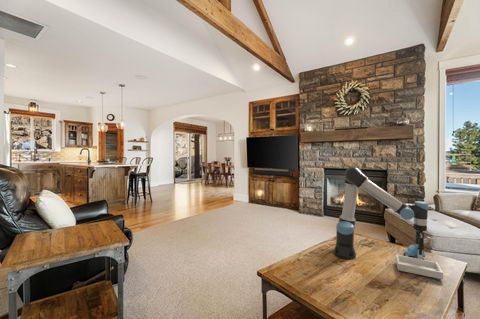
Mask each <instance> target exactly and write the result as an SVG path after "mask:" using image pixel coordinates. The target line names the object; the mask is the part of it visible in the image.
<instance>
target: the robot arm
mask: <svg viewBox="0 0 480 319" xmlns="http://www.w3.org/2000/svg"><path fill="white" fill-rule="evenodd" d="M343 182H344V183H343V184H345V190H344V191H345V192H344V198H343V206H342V212H341V215H339V217H338V222H337V223H336V227H335V229H336V231H335V232H336V237H335V242H336V243H335V246H334V248H333V255H334V257H336V258H339V259H342V260H351V261H352V260H354V259H356V258H357V253H356V250H355V246H354V243H355V242H354V240H355V237H354V236H355V229H356V221H357V220H356V218H355V214H356V206H357V204H356V203H357V199H358V191H359V189H362V190H363V191H365V192H366V193H367V194H369V195H371V196H372V197H373V198H375V199H376V200H378V201H379V202H381V203H382V204H383V205H384V206H387V207H388V208H389V209H390V210H392V211H393V213H395V214H398V215H399V216H400V217H401V218H402V219H403V220H405V221H408V220H409V221H411V220H413V224H412V225H413V226H412V229H413V230H415V239H414V242H415V245H416V246H417V247H418V248H417V249H418V255H417V259H422V260H423V258H424V257H423V250H424V251H425V248H424V245H425V244H424V239H425V238H424V237H425V234H424V232H427V231H428V222H429V219H428V217H429V216H428V213H429V204H428V203H427V202H426V201H421V200H415V201H414V203H405V202H402V201H401V200H399V199H397V198H396V197H394V196H393V195H392V194H390V193H388V192H387V191H386V190H384V189H383V188H381V187H380V186H378V185H377V184H376V183H374V182H372V181H371V180H370V179H369V177H368V176H366V175H365V174H364V173H363V171H362V169H361V168H360V167H358V166H350V167H348V168H347V169H346V170H345V173H344V181H343Z"/></svg>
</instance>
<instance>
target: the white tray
mask: <svg viewBox="0 0 480 319" xmlns="http://www.w3.org/2000/svg"><path fill="white" fill-rule="evenodd" d="M395 255H396V256H395V262H396V268H397V270H398V273H403V272H407V273H410V274H411V273H412V274H414V275H415V274H416V275H421V276H425V277H430V278H435V279H436V281H438V282H439V281H441V280H444V272H443V270H442V268H441V266H440V264H439V263H438V261H432V260H427V259H424V260H422V259H417V258H412V257H406V256H404V255H400V254H395Z"/></svg>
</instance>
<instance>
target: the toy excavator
mask: <svg viewBox="0 0 480 319" xmlns="http://www.w3.org/2000/svg"><path fill="white" fill-rule="evenodd" d="M427 243H428V244H429V245H431V246H432V245H434V244H435V241H434V239H433V238H432V237H430V236H426V237H425V238H424V245H425V244H427ZM417 248H418V247H417V246H416V244H410V245H409V246H408V247H407V249H405V250H404V251H403V256H406V257H412V258H417V255H418V249H417ZM425 258H426V253H425V249H424V250H423V260H425Z"/></svg>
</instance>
